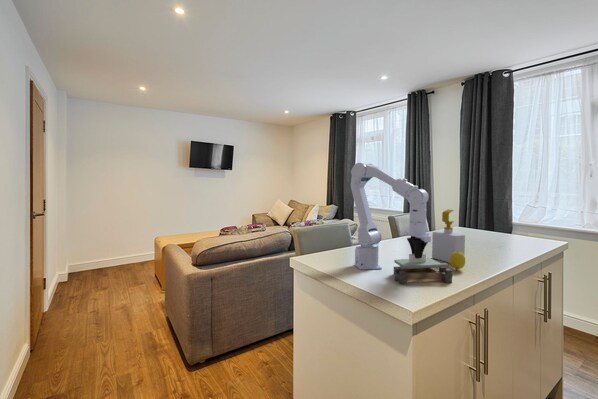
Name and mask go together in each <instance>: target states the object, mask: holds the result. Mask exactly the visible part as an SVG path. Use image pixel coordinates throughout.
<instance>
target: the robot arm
mask: <svg viewBox="0 0 598 399" xmlns="http://www.w3.org/2000/svg"><path fill="white" fill-rule="evenodd" d="M350 174H351V178H350V189H351V193H352V197H353V201H354V206H355V209H356V213H357V217H358V221H359V226H358V229H357V240H358V244H360V245H359V246H358V245H357V246H355V249H354V266H356V267H357V269H359V270H382V266H380V265H379V250H380V249H379V243H380V242H381V241H382V233H381V232H380V230H379V228H378V225H376V224H375V223H374V220H373V217H372V213H371V209H370V205H369V201H368V197H367V193H366V189H365V186H366V184H367V183H368V182H369V181H371V179H373V178H376V179H378V180H379V181H382V182H384V183H385V184H387V185H389V186H391V188H392V191H393V192H394V193H396V194H398V195H399V196H401V197H403V199H406V200H407V202H408V203H409V223H408V224H409V227H408V228H409V229H406V230H405V235H406V236H409V237H406V240H407V242H408V245H409V247H410V250H411V251H410V252H411V254H415V258H422V254H423V253H424V251H425V248H426V246H427V245H428V243H431V242H432V239H431V238H432V237H431V236H430V234H429V232H427V202H428V201H429V198H430V195H429V193H428V192H427V191H426V190H425V189H424V188H419V186H418V185H414V184H412V183H410V182H408V179H407V178H402V177H401V178H395V177H394V176H392V174H391V175H390V174H389V173H388V172H386V171H385V170H383V168H380V167H378V166H376V165H374V164H372V163H362V162H357V163H355V164H354V165H353V166H352V168H351V170H350Z"/></svg>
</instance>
